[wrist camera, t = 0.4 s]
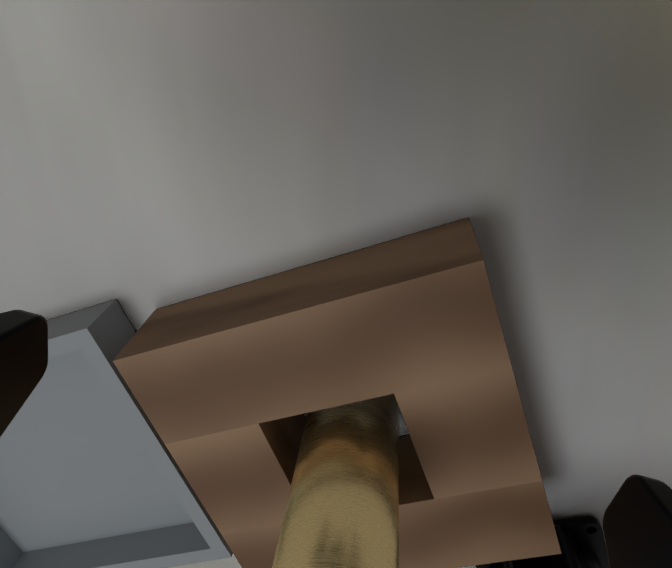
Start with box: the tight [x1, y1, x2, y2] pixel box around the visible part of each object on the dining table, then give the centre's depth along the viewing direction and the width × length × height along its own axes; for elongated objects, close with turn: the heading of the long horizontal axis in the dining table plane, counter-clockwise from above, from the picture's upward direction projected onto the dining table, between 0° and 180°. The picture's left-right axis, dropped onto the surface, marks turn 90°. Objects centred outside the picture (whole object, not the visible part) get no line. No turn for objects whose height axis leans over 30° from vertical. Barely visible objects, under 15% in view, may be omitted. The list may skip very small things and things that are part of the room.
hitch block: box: [113, 218, 561, 568], centre depth 23 cm, size 14×14×4 cm
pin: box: [272, 394, 399, 568], centre depth 20 cm, size 4×4×10 cm
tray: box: [0, 299, 233, 568], centre depth 27 cm, size 14×15×2 cm
